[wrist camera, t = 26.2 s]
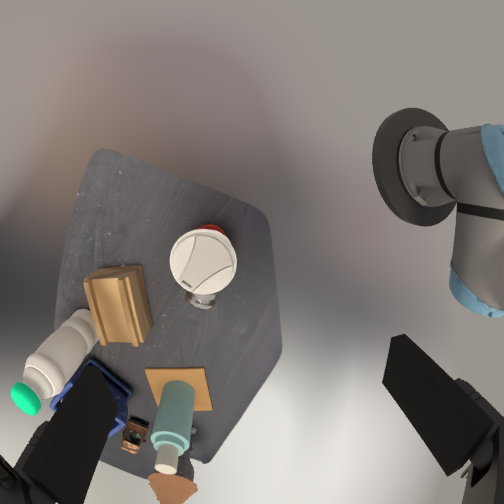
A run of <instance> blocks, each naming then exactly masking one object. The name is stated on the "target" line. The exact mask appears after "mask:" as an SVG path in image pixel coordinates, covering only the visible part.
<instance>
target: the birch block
mask: <svg viewBox="0 0 504 504" xmlns="http://www.w3.org/2000/svg"><path fill="white" fill-rule="evenodd" d="M83 283H84V287H85V291H86V295H87V299H88V303H89V307H90V311H91V314H92V318H93V321H94V325H95V328H96V331H97V334H98V338H99V341H100V344H101V345H104V346H106V345H107V343H108V342H132V345H133V346H139V344H140V343H143V342H144V340H145V338H146V336H147V334H148V332H149V330H150V328H151V326H152V324H153V323H152V318H151V313H150V309H149V304H148V299H147V294H146V289H145V283H144V277H143V271H142V265H135V266H121V267H107V268H100V269H99V270H98V271H96V272H95V273H93V274H92V275H90V276H89V277H88V278H86V279H85V281H84V282H83Z"/></svg>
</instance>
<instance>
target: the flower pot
mask: <svg viewBox="0 0 504 504" xmlns="http://www.w3.org/2000/svg"><path fill="white" fill-rule="evenodd" d="M86 366H96V367H100V369H101V372H102V374H103V376H104V378H105V381H106V383H107V385H108V387H109V389H110V391H111V394H112V396H113V398H114V400H115V402H116V404H117V406H118V408H119V411H118V414H117V416H116V418H115V421H114V423H113V426H112V428H111V430H110V433H109V435H108V438H109V437H111V436H112V435H113V434H115V433H116V432H118V431H119V430H120V429H121V428H123V427H124V426H125V425H126V421H127V415H128V407H127V401H126V400H127V399H128V398H129V397H130V396H131V395H132V392H131V390H130V389H129V388H128V387H126V386H125V385H124V384H123V383H122V382H120V381H119V380H118V379H117V378H116V377H114V376H113V375H112V374H111V373H110V372H108V371H107V370H106V369H105V368H104V367H103V366H102V365H100V364H99V363H98V362H97V361H96V360H94V359H90V360H89V361H88V362H87V363H86V364H85V365H84V366H83V367H82V368H81V370H80V371H79V372H77V373H76V374H75V375H74V376H73V377H72V378H71V379H70V380H69V381H68V382H67V383H66V384H65V386H64V389H63V390H62V392H61V393H59V394H58V395H56V396H55V397H54V398H53V400H52V402H51V404H50V408H51V409H52V410H53V411H54V412H56V410H57V408H58V407H59V405H60V404H61V398H62V399H64V398H65V396H66V395H67V393H68V392H69V390H70V389H71V387H72V386H73V384H74V383H75V381H76V380H77V378H78V377H79V376H80V374H81V373H82V371H83V370H84V368H85V367H86Z"/></svg>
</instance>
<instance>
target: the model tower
mask: <svg viewBox="0 0 504 504" xmlns="http://www.w3.org/2000/svg"><path fill="white" fill-rule="evenodd" d="M192 425H193V423H192ZM195 432H196V428H195V427H192V426H191V434H194V433H195ZM192 449H193V448H192V443H191V442H190V446H189V448H188V449H187V450H186V451H184V453H183V454H182V455H181V456H178V464H177V472H176V473H175V474H164V473H161V472H159V471H157V470H156V469H155V472H154V473H153V474H151V475H150V476H148V479H149V481H150V483H149V485H150V486H151V487H152V489H153V490H154V492H155V494H156V497H157V500H159V501H160V504H182V503H184V502H185V501H186V500H187V499H188V498H189V497H190V496H191V495H192V494H194V493H195V492H196V491H197V485H196V484H195V483H193V478H194V469H193V466H192V464H191V462H190V451H191V450H192Z"/></svg>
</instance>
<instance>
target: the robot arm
mask: <svg viewBox="0 0 504 504" xmlns="http://www.w3.org/2000/svg"><path fill="white" fill-rule="evenodd" d="M396 163H397V171H398V175H399V179H400V181H401V184H402V186H403V188H404V190H405V191H406V193H407V194H408V196H409V197H410V198H411V199H412V200H413V201H415V202H416V203H418V204H420V205H422V206H428V207H437V206H441V205H444V204H447V203H449V202H452V201H455V200H457V213H456V227H455V238H454V247H453V255H452V260H451V263H450V266H451V273H450V281H449V286H450V290H451V292H452V294H453V296H454V297H455V299H456V300H457V301H458V302H459V303H460V304H462V305H463V306H464V307H466V308H467V309H469V310H471V311H473V312H475V313H477V314H479V315H482V316H487V315H488V316H490V317H491V318H497V317H501V316H503V315H504V125H491V124H485V125H483V126H476V127H470V128H464V129H458V130H452V131H445V130H441V129H437V128H434V127H430V126H419V127H415V128H412V129H410V130H408V131H407V132H406V133H405V134H404V135H403V136H402V138H401V140H400V142H399V145H398V149H397V156H396ZM382 383H383V385H384V386H385V387H386V388H387V390H388V391H389V393H390V394H391V396H392V397H393V398H394V400H395V401H396V402H397V404H398V405H399V407H400V408H401V410H402V411H403V412H404V414H405V415H406V417H407V418H408V420H409V421H410V422H411V424H412V425H413V427H414V428H415V429H416V431H417V432H418V434H419V435H420V437H421V438H422V440H423V441H424V442H425V444H426V445H427V447H428V448H429V450H430V451H431V452H432V454H433V456H434V457H435V459H436V460H437V462H438V463H439V465H440V466H441V468H442V469H443V471H444V472H445V474H446V475H447V476H450V475H451V474H453V473H454V472H456V471H457V470H459V469H460V468H462V467H463V466H464V464H465V463H466V462H467V461H468V459H470V461H471V462H472V463H471V464H470V465H469V466H468V467H467V469H466V470H465V471H464V472H463V473H462V475H461V478H463V477H464V476H465V475H466V474H467V473H468V475H467V477H466V478H467V482H466V487H465V492H464V496H463V501H462V504H504V417H503V416H502V415H501V414H500V413H499V412H498V411H497V410H496V409H495V408H494V407H493V406H492V405H491V404H490V403H489V402H488V401H487V400H486V399H485V398H484V397H481V395H480V393H479V392H476V390H475V389H474V388H473V387H472V386H471V385H470V384H469V383H468V382H466V381H464V380H461V379H459V378H458V379H456V380H453V379H452V378H451V377H450V376H449V375H448V374H447V373H446V372H445V371H444V370H443V369H442V368H441V367H439V366H438V364H436V363H435V362H434V361H433V360H432V359H431V358H430V357H429V356H428V355H427V354H426V353H425V352H424V351H423V350H422V349H421V348H419V347H418V346H417V345H416V344H415V343H414V342H413V341H412V340H411V339H410V338H409V337H408V336H407V335H405V334H402V335H398V336H395V337H392V338H391V342H390V348H389V353H388V358H387V363H386V368H385V372H384V377H383V381H382ZM118 411H119V408H118V406H117V404H116V402H115V400H114V398H113V396H112V394H111V391H110V389H109V387H108V385H107V383H106V381H105V378H104V376H103V374H102V372H101V369H100V367H96V366H86V367H85V368H84V370H83V371H82V373H81V374H80V376H79V377H78V378H77V380H76V381H75V383H74V384H73V386H72V387H71V389H70V390H69V392H68V393H67V395H66V396H65V398H64V399H63V401H62V402H61V404H60V405H59V407H58V408H57V410H56V412H55V413H54V415H53V416H52V418H51V420H50V421H45V422H44V423H42V424H41V425H40V426H39V427H38V428H37V429H36V431H35V433H34V434H33V437H32V438H31V439H30V441H29V444H27V446H26V447H25V449H24V451H23V452H22V454H21V456H20V458H19V459H18V461H17V463H16V465H15V466H14V468H12V467H11V466H10V465H9V464H8V463H7V461H5V459H4V458H3V457H2V456H1V455H0V504H55V503H56V502H57V503H58V504H83V503H84V500H85V497H86V494H87V491H88V488H89V486H90V483H91V480H92V477H93V474H94V472H95V469H96V466H97V463H98V461H99V458H100V456H101V453H102V450H103V448H104V445H105V443H106V440H107V438H108V435H109V433H110V430H111V428H112V426H113V423H114V421H115V418H116V416H117V414H118Z"/></svg>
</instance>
